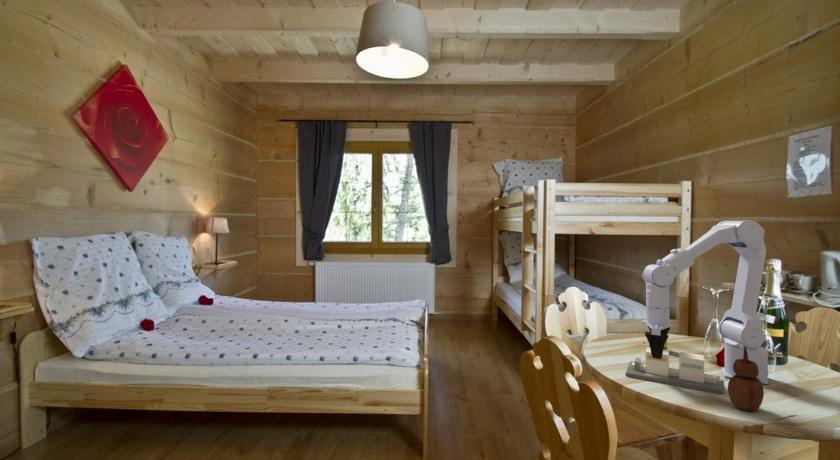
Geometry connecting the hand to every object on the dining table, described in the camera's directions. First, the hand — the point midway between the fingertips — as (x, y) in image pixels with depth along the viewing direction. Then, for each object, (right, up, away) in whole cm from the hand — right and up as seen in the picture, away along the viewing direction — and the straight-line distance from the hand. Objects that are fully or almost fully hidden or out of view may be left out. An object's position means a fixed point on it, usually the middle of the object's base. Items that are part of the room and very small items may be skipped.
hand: (657, 354), depth 114 cm
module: (0, -5, 0) cm, 5 cm away
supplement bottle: (+14, -6, +23) cm, 28 cm away
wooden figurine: (+9, -7, -20) cm, 23 cm away
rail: (+3, -6, -2) cm, 7 cm away
